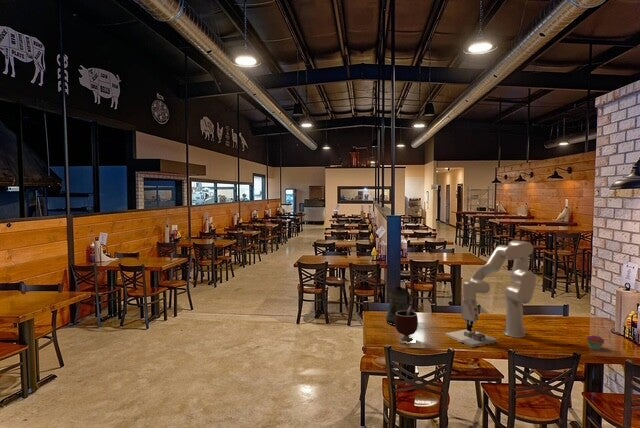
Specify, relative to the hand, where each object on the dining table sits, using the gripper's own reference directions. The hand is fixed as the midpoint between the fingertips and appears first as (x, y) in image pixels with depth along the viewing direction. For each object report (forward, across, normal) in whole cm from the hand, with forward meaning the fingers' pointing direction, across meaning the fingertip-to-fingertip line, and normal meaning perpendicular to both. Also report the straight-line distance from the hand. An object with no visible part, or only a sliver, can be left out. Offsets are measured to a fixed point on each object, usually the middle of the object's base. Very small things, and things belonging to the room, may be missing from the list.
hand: (469, 330), depth 250 cm
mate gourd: (+6, +15, +36) cm, 40 cm away
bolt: (+3, -5, 0) cm, 6 cm away
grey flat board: (+5, -1, 0) cm, 5 cm away
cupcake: (+5, -43, -53) cm, 68 cm away
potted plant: (+6, +48, +20) cm, 52 cm away
